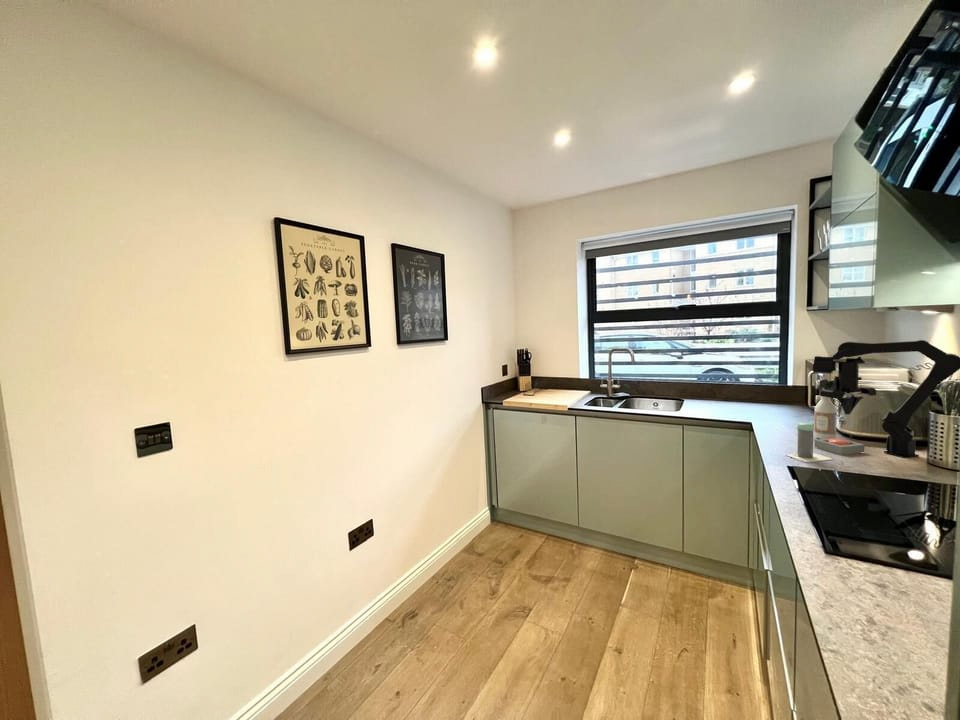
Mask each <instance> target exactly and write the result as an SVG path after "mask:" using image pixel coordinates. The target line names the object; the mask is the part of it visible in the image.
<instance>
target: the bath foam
mask: <svg viewBox="0 0 960 720" xmlns="http://www.w3.org/2000/svg"><path fill="white" fill-rule="evenodd" d="M837 417H838V416H837V407H836V406H835V405H834V403H833V402H832V401H831V398H829V397H823V396H820V400H819V401H818V402H817V404H816V405H815V407H814V423H813V424H814V431H813V438H815V437H816V438H815V439H817V438H819V439H829V438H837ZM819 439H818V440H819Z"/></svg>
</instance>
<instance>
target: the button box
mask: <svg viewBox="0 0 960 720" xmlns="http://www.w3.org/2000/svg"><path fill="white" fill-rule="evenodd" d="M829 439H840V438H839V437H836V438H829ZM829 439H814V448H815V447H817V448H816V449H819V450H822V449H823V451H825V452H829V453H832V452H833V454H837V455H840V456H843V455H854V453H856V454H862V453H861V452H864V453H865V444H863V443H859V442H854V441H851V440H848V441H849V442H850V445H841V446H840V445H837V444H833V443H829V442H828V440H829ZM841 439H842V440H844V439H843V438H841Z"/></svg>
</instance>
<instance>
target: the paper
mask: <svg viewBox="0 0 960 720" xmlns="http://www.w3.org/2000/svg"><path fill="white" fill-rule="evenodd" d="M786 455H787V456H786V457H788V456H789V457H788V458H791V457H792V459H794V458H795V459H794V460H797V459H798V461H801V462H804V463H814V462H815V463H816V462H823V461H824V462H825V461H833V460H834V458H831V457H827V456H824V455H821V454H819V453H815V452H813V458H802V457H799V456H797V453H790V454H786Z"/></svg>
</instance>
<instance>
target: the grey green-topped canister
mask: <svg viewBox="0 0 960 720" xmlns="http://www.w3.org/2000/svg"><path fill="white" fill-rule="evenodd" d="M796 451H797V453H796V454H797V456H799V457H802V458H813V453H814V423H810V422H797V450H796Z"/></svg>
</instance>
